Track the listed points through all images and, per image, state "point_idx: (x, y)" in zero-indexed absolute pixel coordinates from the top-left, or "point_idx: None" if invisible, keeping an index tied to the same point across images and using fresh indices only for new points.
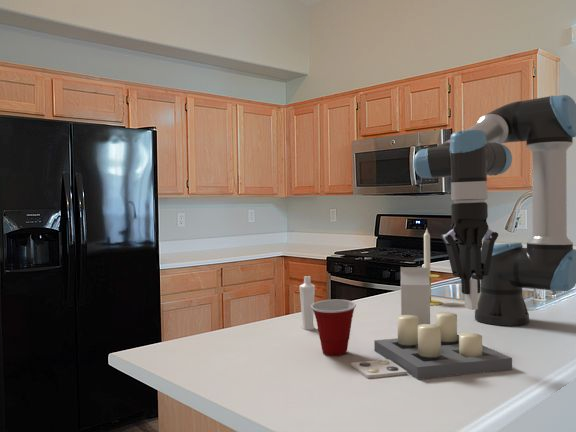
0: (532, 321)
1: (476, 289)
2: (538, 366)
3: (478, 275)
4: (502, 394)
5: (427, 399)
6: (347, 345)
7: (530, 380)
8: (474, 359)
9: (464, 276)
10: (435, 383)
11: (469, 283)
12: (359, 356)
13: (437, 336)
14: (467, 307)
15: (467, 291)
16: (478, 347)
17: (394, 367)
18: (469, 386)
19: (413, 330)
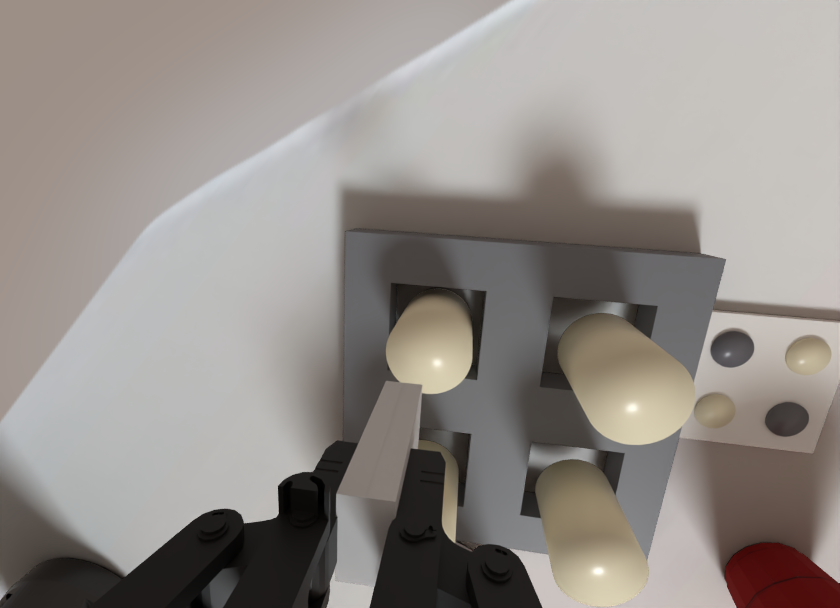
0: (17, 574)
1: (366, 445)
2: (262, 227)
3: (307, 522)
4: (546, 32)
5: (812, 70)
6: (749, 573)
7: (372, 121)
8: (475, 262)
9: (443, 558)
10: (672, 200)
11: (400, 500)
12: (715, 512)
13: (619, 338)
14: (419, 424)
15: (426, 462)
16: (427, 303)
17: (720, 353)
18: (590, 137)
19: (590, 496)
